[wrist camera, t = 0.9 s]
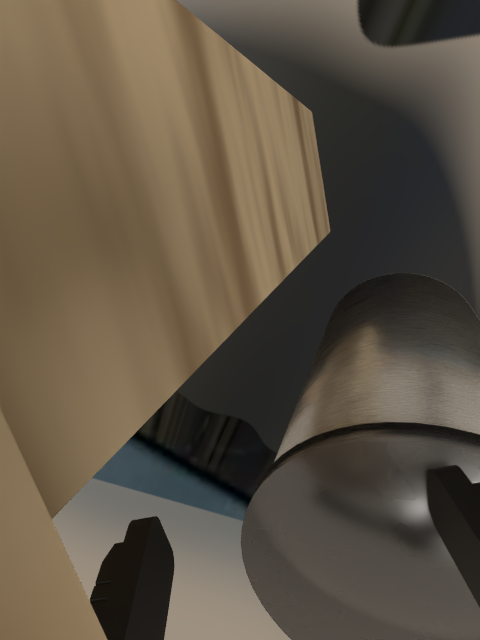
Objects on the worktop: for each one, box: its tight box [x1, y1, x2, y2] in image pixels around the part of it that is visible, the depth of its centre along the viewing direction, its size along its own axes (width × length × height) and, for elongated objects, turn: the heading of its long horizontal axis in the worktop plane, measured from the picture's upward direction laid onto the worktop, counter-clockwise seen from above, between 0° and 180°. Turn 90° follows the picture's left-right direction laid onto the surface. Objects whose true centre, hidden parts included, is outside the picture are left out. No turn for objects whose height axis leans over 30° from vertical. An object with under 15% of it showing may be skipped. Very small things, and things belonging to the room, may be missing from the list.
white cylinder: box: [241, 273, 480, 640], centre depth 22 cm, size 13×13×22 cm
